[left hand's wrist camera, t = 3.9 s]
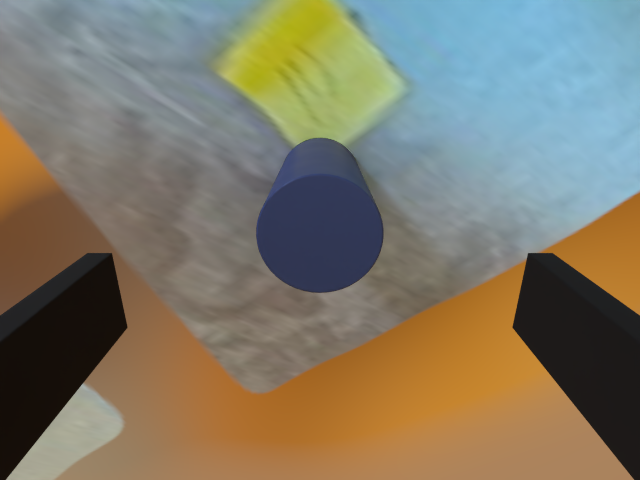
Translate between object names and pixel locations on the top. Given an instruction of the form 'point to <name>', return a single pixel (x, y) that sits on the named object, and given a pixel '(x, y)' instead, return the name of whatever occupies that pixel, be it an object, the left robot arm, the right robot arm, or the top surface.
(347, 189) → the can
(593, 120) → the top surface
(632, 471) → the left robot arm
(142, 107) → the top surface
